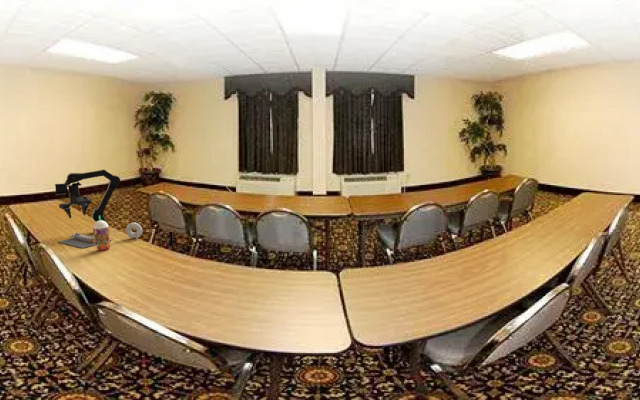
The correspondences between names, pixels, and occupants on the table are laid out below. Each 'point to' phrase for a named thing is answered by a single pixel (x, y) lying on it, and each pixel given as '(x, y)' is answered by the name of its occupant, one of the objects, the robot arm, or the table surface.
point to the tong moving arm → (85, 239)
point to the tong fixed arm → (80, 235)
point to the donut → (130, 233)
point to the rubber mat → (78, 243)
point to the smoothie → (101, 235)
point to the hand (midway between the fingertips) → (77, 216)
